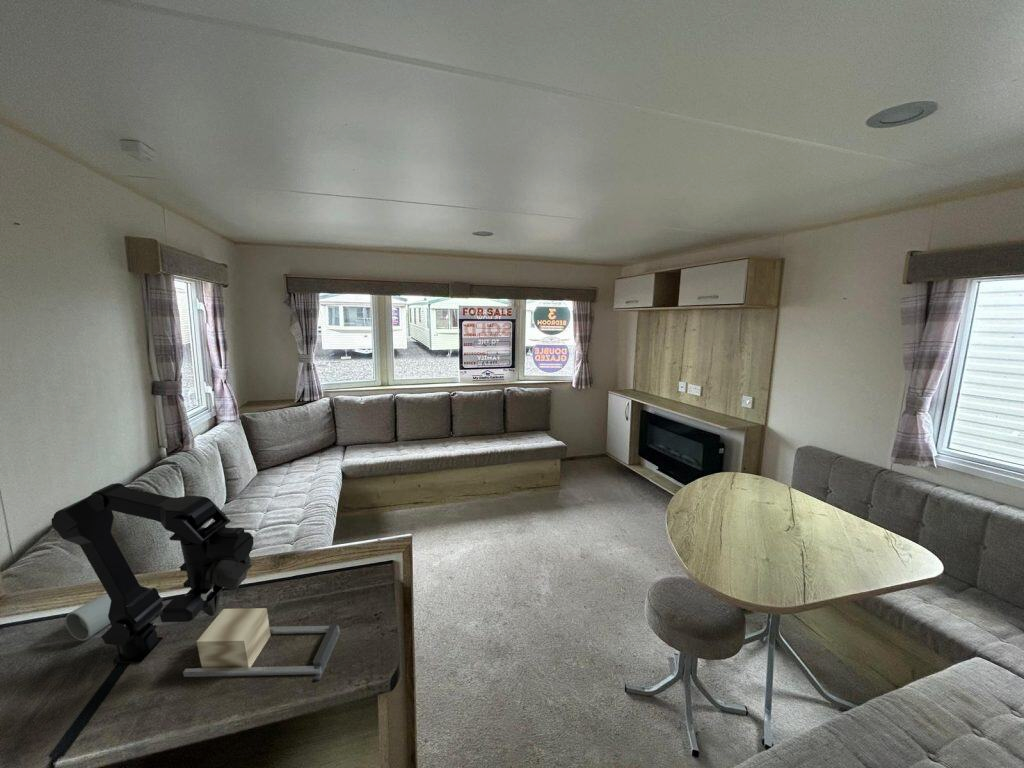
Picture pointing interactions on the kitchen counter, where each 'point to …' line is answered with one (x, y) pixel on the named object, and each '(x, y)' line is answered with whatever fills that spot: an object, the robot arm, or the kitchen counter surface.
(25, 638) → the kitchen counter surface
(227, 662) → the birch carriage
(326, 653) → the graphite track
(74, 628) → the grey hollow cylinder
